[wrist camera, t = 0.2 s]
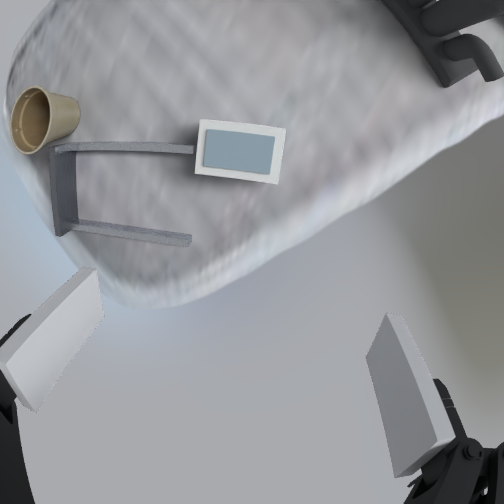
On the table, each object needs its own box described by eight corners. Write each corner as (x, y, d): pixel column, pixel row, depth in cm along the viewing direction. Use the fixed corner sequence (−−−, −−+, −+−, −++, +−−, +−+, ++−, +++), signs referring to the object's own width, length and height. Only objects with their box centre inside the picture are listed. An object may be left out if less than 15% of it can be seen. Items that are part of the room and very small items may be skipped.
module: (212, 120, 33) (199, 119, 27) (284, 128, 33) (286, 128, 27) (207, 166, 36) (193, 174, 30) (277, 175, 35) (277, 185, 30)
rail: (70, 142, 35) (49, 147, 30) (197, 144, 34) (185, 147, 30) (73, 224, 41) (55, 235, 36) (191, 241, 40) (180, 256, 36)
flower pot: (89, 80, 31) (51, 76, 23) (90, 140, 35) (52, 148, 27) (47, 94, 32) (9, 96, 24) (48, 149, 36) (11, 159, 28)
